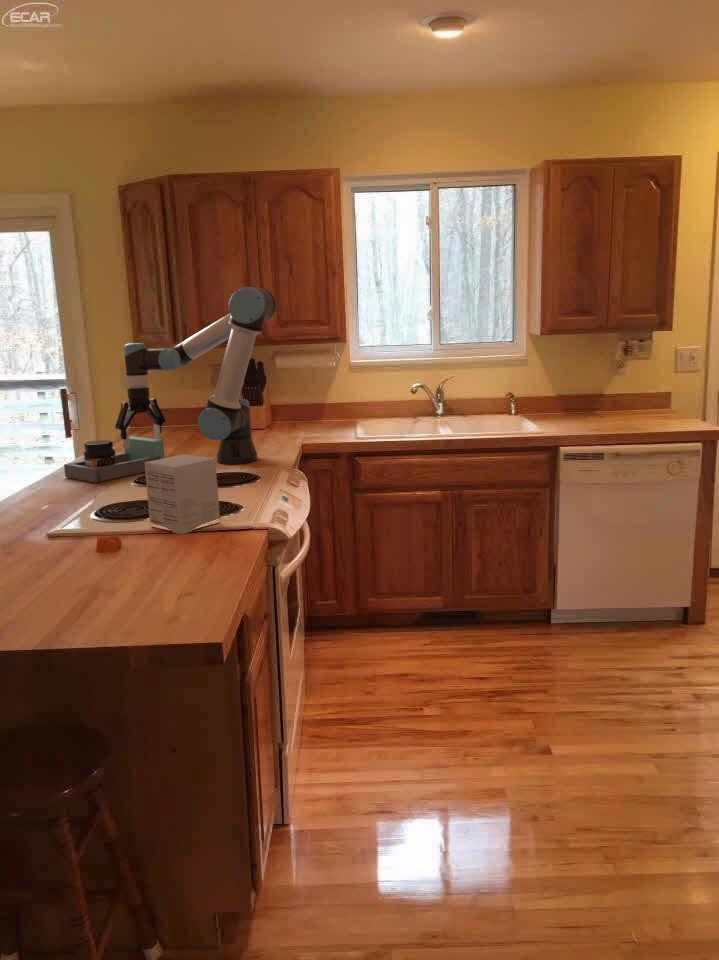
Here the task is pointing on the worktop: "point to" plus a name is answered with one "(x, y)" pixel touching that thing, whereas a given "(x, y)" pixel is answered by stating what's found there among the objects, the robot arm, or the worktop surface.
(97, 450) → the supplement container
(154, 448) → the gray open tray
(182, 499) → the supplement box
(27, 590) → the worktop surface
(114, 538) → the rock
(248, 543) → the worktop surface
